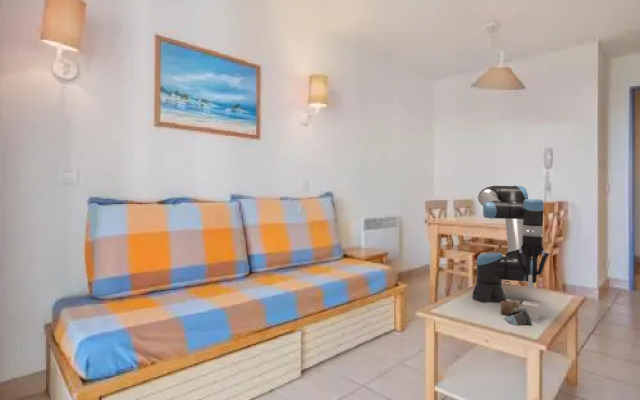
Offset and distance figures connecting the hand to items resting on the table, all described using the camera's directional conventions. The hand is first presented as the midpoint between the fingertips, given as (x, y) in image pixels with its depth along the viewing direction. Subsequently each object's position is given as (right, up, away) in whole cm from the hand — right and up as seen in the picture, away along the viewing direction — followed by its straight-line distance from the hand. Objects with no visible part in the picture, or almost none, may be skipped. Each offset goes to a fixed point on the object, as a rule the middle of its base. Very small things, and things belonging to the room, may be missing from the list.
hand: (530, 289), depth 159 cm
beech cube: (-3, -12, +9) cm, 16 cm away
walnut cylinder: (-9, -12, +4) cm, 16 cm away
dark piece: (-10, -13, -5) cm, 17 cm away
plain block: (0, -12, 0) cm, 12 cm away
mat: (0, -13, 0) cm, 13 cm away
